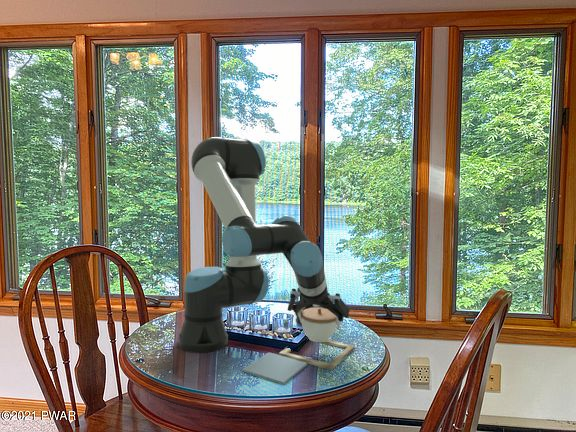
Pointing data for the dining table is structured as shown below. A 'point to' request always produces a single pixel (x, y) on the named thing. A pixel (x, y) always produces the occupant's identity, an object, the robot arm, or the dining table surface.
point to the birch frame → (317, 363)
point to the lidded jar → (318, 324)
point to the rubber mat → (275, 367)
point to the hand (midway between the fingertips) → (320, 321)
